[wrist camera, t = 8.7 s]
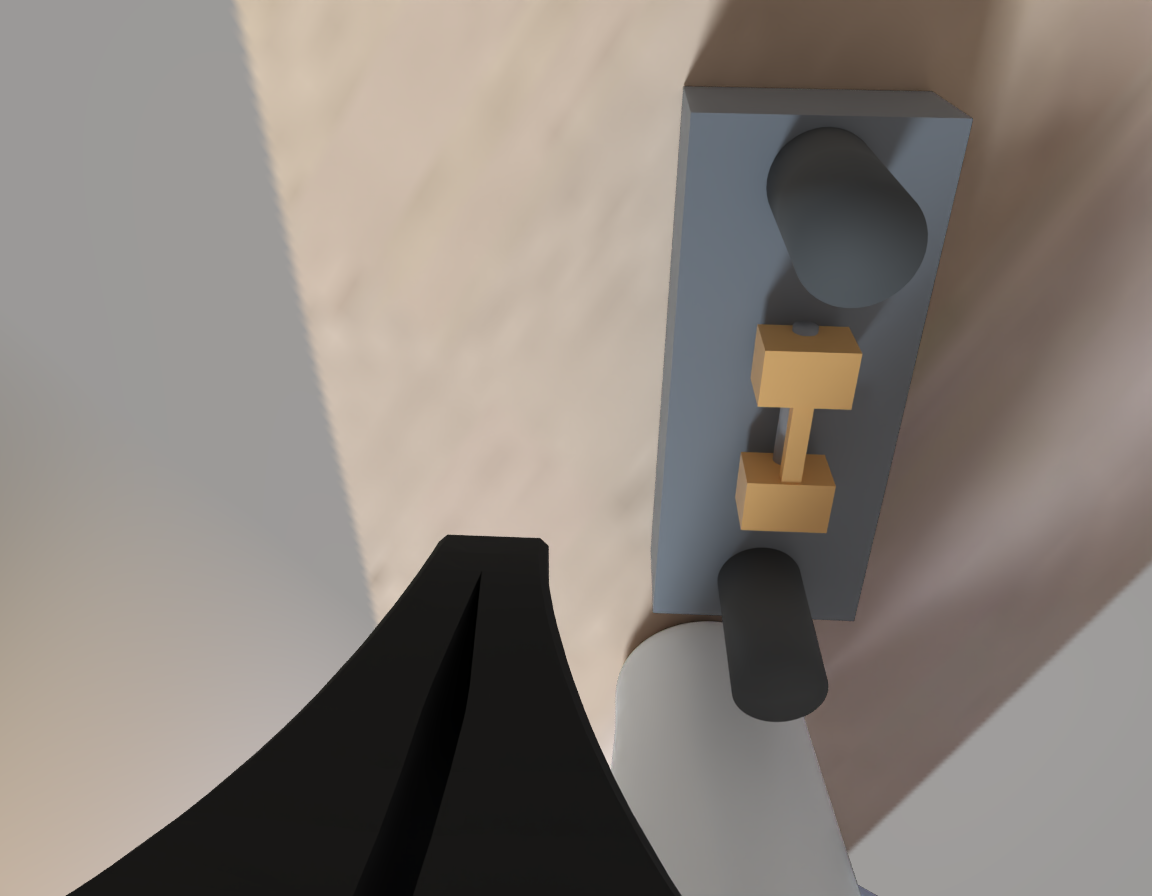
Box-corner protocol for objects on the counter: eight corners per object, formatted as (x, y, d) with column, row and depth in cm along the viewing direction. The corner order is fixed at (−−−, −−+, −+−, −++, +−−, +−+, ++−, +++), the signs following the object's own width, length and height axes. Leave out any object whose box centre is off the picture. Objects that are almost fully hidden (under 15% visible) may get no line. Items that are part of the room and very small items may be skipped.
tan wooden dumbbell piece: (815, 503, 20) (826, 537, 19) (734, 501, 20) (740, 533, 19) (849, 322, 18) (863, 348, 17) (757, 319, 18) (765, 345, 17)
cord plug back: (794, 612, 22) (820, 724, 19) (713, 608, 22) (726, 719, 19) (806, 549, 21) (836, 657, 18) (721, 545, 21) (737, 653, 18)
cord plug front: (872, 231, 17) (920, 304, 14) (765, 238, 17) (790, 311, 14) (881, 122, 16) (935, 176, 13) (767, 131, 16) (795, 186, 13)
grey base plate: (834, 557, 24) (854, 621, 22) (650, 550, 25) (652, 612, 22) (932, 91, 18) (972, 118, 16) (683, 86, 18) (690, 112, 16)
